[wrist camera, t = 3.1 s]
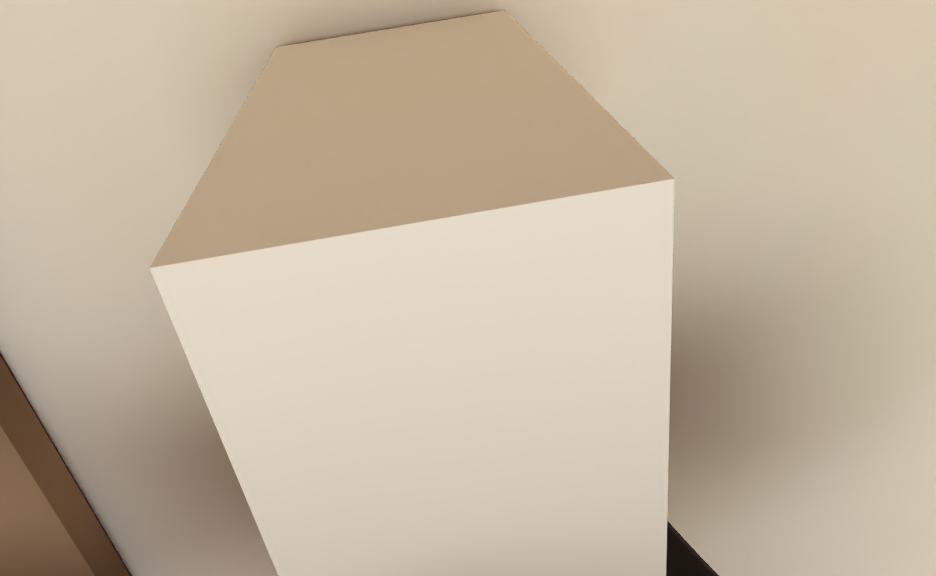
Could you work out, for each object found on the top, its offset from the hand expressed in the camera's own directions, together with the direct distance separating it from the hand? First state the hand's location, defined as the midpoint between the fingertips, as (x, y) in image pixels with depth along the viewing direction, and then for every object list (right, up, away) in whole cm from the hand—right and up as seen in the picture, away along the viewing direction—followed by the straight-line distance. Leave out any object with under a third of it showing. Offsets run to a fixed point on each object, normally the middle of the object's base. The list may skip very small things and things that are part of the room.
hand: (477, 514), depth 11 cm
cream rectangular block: (0, +1, +2) cm, 2 cm away
